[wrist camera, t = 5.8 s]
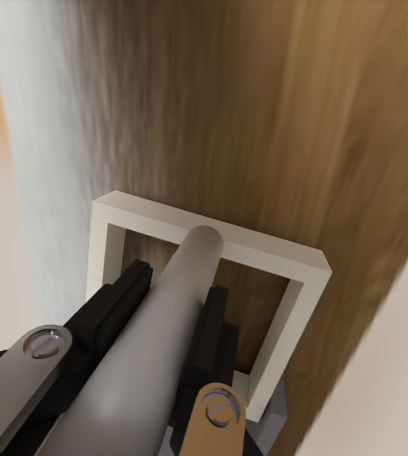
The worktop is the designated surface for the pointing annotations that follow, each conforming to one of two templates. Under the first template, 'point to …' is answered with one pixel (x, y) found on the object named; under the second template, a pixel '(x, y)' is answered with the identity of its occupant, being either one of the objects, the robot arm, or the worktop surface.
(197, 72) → the worktop surface
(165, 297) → the collar
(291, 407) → the worktop surface
